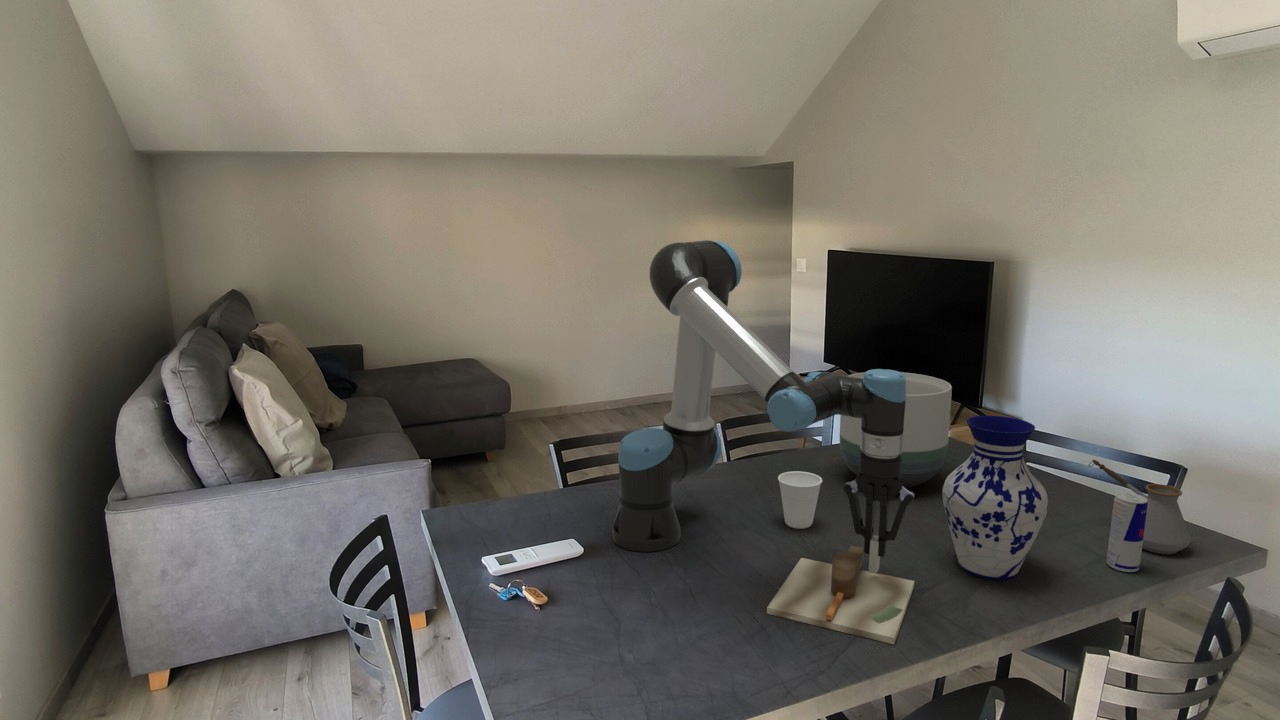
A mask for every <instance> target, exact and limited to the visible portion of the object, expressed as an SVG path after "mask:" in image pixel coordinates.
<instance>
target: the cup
mask: <svg viewBox="0 0 1280 720" xmlns="http://www.w3.org/2000/svg"><path fill="white" fill-rule="evenodd" d="M777 480H778V481H779V483H778V484H779V488H780V490H779V491H780V495H781V504H782V509H783V510H782V511H783V516H784V518H783V519H784V523H785V524H786V525H787V526H788V527H790V528H793V529H798V530H799V529H800V530H801V529H803V530H804V529H808V528H811V526H812V525H813V523H814V517H815V511H816V507H817V504H818V503H817V502H818V499H819V493H820V489H821V485H822V483H823V478H822V477H821V476H820V475H817V474H815V473H812V472H808V471H799V470H798V471H796V470H795V471H786V472H782V473H780V474H779V475H778V476H777Z"/></svg>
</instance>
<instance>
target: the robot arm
mask: <svg viewBox="0 0 1280 720" xmlns="http://www.w3.org/2000/svg"><path fill="white" fill-rule="evenodd" d="M742 271H743V269H742V264H741V260H740V257H739V256H738V254H737V253H736V252H735V250H734V249H733V248H732V246H730V245H729V244H728V243H725V242H723V241H720V240H708V239H707V240H706V239H704V240H698V241H697V240H696V241H687V242H682V241H681V242H673V243H670V244H667V245H665V246H664V247H662V248H660V249H659V251H658V252H657V253H656V254H655V255H654V256H653V258H652V261H651V263H650V267H649V282H650V286H651V289H652V291H653V293H654V295H655V296H656V297H657V299H658V300H659V302H660V303H661V304H662V305H663V306H664V307H665V309H666V310H668V311H669V312H670V314H672V316H675V317H679V323H678V325H679V326H678V334H677V336H678V337H677V345H676V346H677V347H676V355H675V365H674V366H675V368H674V377H673V387H672V390H673V391H672V399H671V410H670V411H669V412H668V413H666V415H664V417H663V423H662V429H661V428H646V429H639V430H638V429H637V430H635V431H633V432H630V433H628V434H627V435H625V436H624V437H623V438H622V439H621V441H620V443H619V449H618V450H619V452H618V457H617V462H618V480H619V481H618V484H619V487H618V488H619V489H618V490H619V505H618V509H617V511H616V515H615V518H614V522H613V525H612V528H611V529H612V530H611V534H612V535H611V537H612V541H613V543H615V544H616V545H617V546H618V547H621V548H623V549H625V550H630V551H634V552H643V553H645V552H647V553H648V552H659V551H663V550H664V551H665V550H667V549H670V548H672V547H674V546H675V545H677V544H678V543H679V542H680V540H681V537H682V535H681V531H682V530H681V525H680V521H679V519H678V515H677V513H676V510H675V508H674V507H675V506H674V502H673V501H674V500H673V499H674V498H673V496H674V495H673V492H674V491H673V490H674V489H673V487H674V485H675V484H678V483H681V482H683V481H685V480H687V479H690V478H693V477H696V476H701V475H702V474H703V473H705V472H707V471H708V470H710V469H711V468H713V467H714V466H715V465H716V464H717V462H718V461H719V460H720V457H721V453H722V438H721V436H719V435H718V433H719V431H718V430H717V428H716V427H715V421H714V419H713V418H712V417H711V416H710V407H711V397H712V388H713V381H714V380H713V379H714V378H713V377H714V369H715V362H716V361H715V359H716V353H718V355H719V356H720V357H721V358H722V359H723V360H724V361H725V362H726V363H727V364H728V365H729V366H730V367H731V368H732V369H733V370H734V371H735V372H736V373H737V374H738V375H739V376H740V377H741V378H742V379H743V380H744V381H745V382H746V383H747V384H748V385H749V386H750V387H751V388H752V389H753V390H754V391H755V392H756V393H757V394H758V395H759V396H760V397H761V398H762V399H763V400H764V401H765V402H766V403H767V407H766V408H767V410H766V411H767V412H766V413H767V415H768V417H769V421H770V422H771V424H772V425H773V426H774V427H775V428H777V429H778V430H780V431H783V432H795V431H799V430H804V429H807V428H808V427H810V426H811V425H813V424H815V423H816V424H817V423H818V422H821V421H824V420H827V419H828V418H831V417H833V416H837V415H838V416H840V415H844V416H849V417H854V418H861V441H860V449H861V450H862V452H861V453H860V459H859V473H858V475H856V477H855V479H853V480H852V481H850V480H848V481H846V482H845V484H844V485H843V491H844V492H845V494H846V496H847V497H848V502H849V507H850V512H851V518H852V522H853V528H854V533H855V534H857V535H860V536H863V538H864V541H863V543H864V546H863V548H864V555H869V558H868V570H867V571H868V572H870V573H875V574H877V573H878V571H879V569H880V561H881V557H882V558H884V556H885V555H886V553H887V542H888V541H895V539H896V537H897V535H898V532H899V530H900V527H901V524H902V521H903V519H904V515H905V513H906V510H907V507H908V506H909V504H911V502H912V501H913V500H914V497H915V495H916V493H915V491H913V490H908V488H904V487H903V482H902V480H901V464H902V457H901V455H900V454H901V453H902V449H903V435H904V433H903V431H904V429H903V428H904V416H905V404H906V399H907V396H906V378H905V376H904V375H903V374H902V373H901V372H902V371H898V370H894V369H885V368H884V369H883V368H875V369H869V370H867V371H865V374H864V378H855V377H849V375H842V374H836V373H833V372H829V371H824V372H822V371H811V372H809V373H807V376H806V377H805V378H803V379H802V378H801V377H800V376H799V374H797V373H796V372H795V371H794V370H793V369H791V368H790V367H789V366H788V365H787V364H786V362H784V361H783V359H781V358H780V357H779V356H778V355H777V354H776V353H775V352H774V351H773V350H772V349H771V348H770V347H768V345H767V344H766V343H765V342H764V341H763V340H761V338H759V336H758V335H756V333H754V332H753V330H751V329H750V328H749V327H748V326H747V325H746V323H744V322H743V321H742V319H741V318H739V316H737V315H736V314H735V313H734V312H733V311H732V309H730V308H729V307H728V305H729V297H730V293H731V292H733V291H734V290H735V288H736V287H738V286H739V284H740V282H741V279H742V273H743V272H742ZM858 490H860V491H861V492H862V493H861V494H863V496H864V497H865V517H864V518H865V521H863V519H864V518H863V515H862V510H861V509H862V508H861V505H860V500H859V495H858ZM898 493H899V494H900V495H899V500H900V501H901V502H899V505H898V508H897V511H896V514H895V517H894V520H893V523H892V525H891V528H890V531H889V529H888V527H889V516H890V515H889V512H890V503H891V502H890V501H892V500H893V499H894V497H896V495H897V494H898ZM876 502H879V521H878V526H879V527H878V535H875V534H874V531H875V530H874V527H875V526H874V525H875V515H876V513H875V511H876V510H875V509H876ZM864 522H865V523H864Z"/></svg>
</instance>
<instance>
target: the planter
mask: <svg viewBox="0 0 1280 720" xmlns="http://www.w3.org/2000/svg"><path fill="white" fill-rule="evenodd" d="M865 372H866V371H865ZM865 372H856V373H853V374H849V375H848V376H849V377H855V378H864V374H865ZM900 372H901V373H902V374H903V375H904V376H905V378H906V396H907V399H906V404H905V416H904V428H903V429H904V431H903V433H904V435H903V449H902V453H901V454H900V455H901V457H902V464H901V480H902V482H903V487H904V488H906V489H908V488H913V487H917V486H919V485H921V484H924V483H926V482H928V481H929V480H931V479H932V478H933V477H934V476H935V475H937V474H938V473H939V471H940V470H941V468H942V467H943V465H944V462H945V460H946V457H947V454H948V449H949V435H950V427H951V426H950V425H951V408H952V397H953V396H952V393H953V392H952V390H953V387H952V385H951V383H949V382H948V381H946V380H944V379H941V378H937V377H935V376H929V375H925V374H921V373H919V374H917V373H911V372H903V371H900ZM839 416H840V418H839V419H840V420H839V448H840V452H841V455H842V458H843V461H844V462H845V464H846V465H847V467H848V468H849V469H850V470H851V472H852V473H854V474H855V475H856V476H857V475H858V473H859V459H860V453H861V452H862V450H861V449H860V441H861V418H854V417H849V416H844V415H839Z"/></svg>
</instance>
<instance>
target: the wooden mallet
mask: <svg viewBox="0 0 1280 720" xmlns="http://www.w3.org/2000/svg"><path fill="white" fill-rule="evenodd" d="M864 561H865V552H864V547H860V546H856V545H850V546H849V547H848V550H847V551H846V552H845V551H844V552H843V551H842V552H835V553H834V554H833V555H832V560H831V564H832V579H831V592H832V593H833V594H834V595H836V596H835V598H834V600H833V602H832V604H831V606H830V608H829V610H828V611H827V613H826V619H829V620H832V618H833V616H834V614H835V612H836V610H837V608H838V606H839V604H840V603H841V601H842V599H843V598H849V597H853V596H854V595H855V594H856V576H857V574H858V572H859V570H861V568H862V566H863V565H864Z"/></svg>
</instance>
